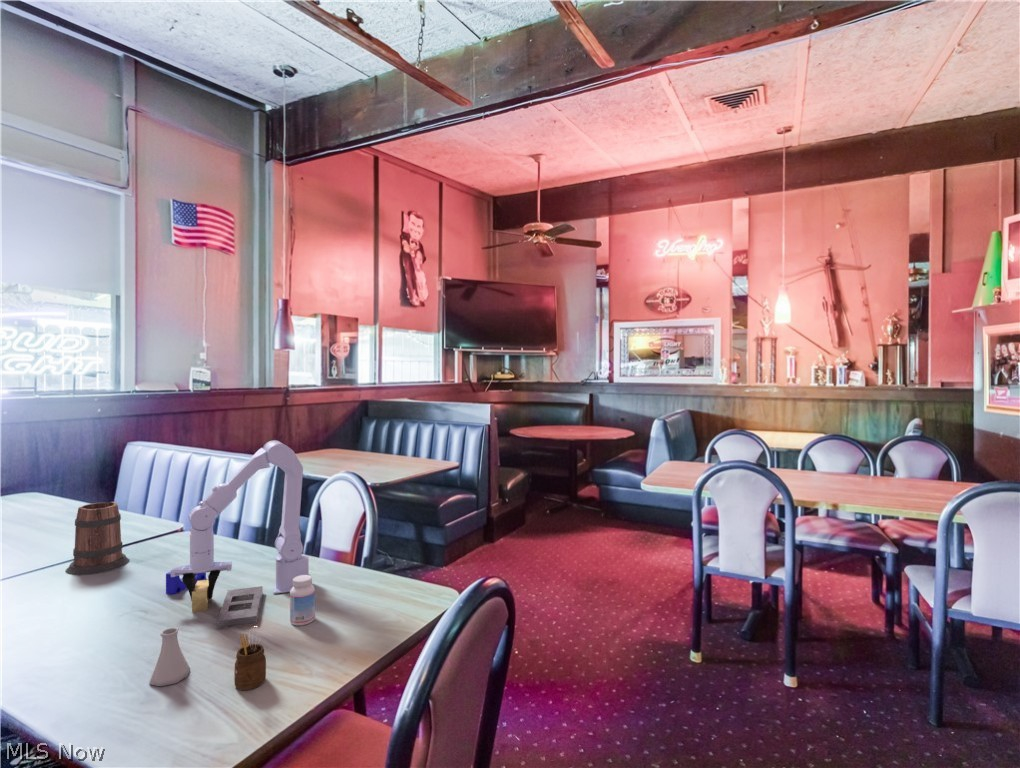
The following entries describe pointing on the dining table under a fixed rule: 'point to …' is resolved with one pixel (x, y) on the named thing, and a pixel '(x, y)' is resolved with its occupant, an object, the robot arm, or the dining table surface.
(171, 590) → the cable clip
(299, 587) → the pill bottle
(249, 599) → the gray rectangular plate
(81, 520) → the tankard
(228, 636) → the dining table surface
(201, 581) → the wooden toy block
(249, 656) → the utensil holder
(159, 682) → the flask
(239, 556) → the dining table surface
